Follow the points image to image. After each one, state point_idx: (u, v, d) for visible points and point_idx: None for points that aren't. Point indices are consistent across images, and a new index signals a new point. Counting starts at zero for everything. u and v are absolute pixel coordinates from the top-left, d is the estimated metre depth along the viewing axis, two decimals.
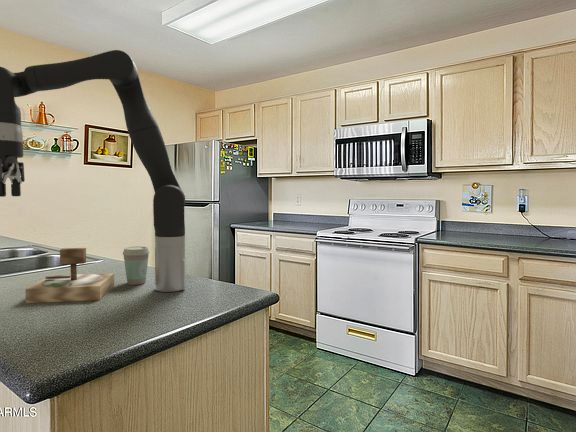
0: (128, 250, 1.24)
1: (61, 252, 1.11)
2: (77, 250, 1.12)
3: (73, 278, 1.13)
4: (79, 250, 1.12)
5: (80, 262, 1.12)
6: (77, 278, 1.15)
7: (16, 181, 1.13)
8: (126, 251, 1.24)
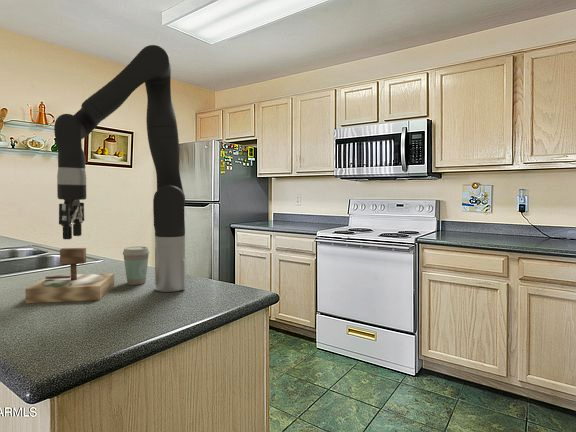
0: (128, 250, 1.24)
1: (61, 252, 1.11)
2: (77, 250, 1.12)
3: (73, 278, 1.13)
4: (79, 250, 1.12)
5: (80, 262, 1.12)
6: (77, 278, 1.15)
7: (78, 221, 1.16)
8: (126, 251, 1.24)
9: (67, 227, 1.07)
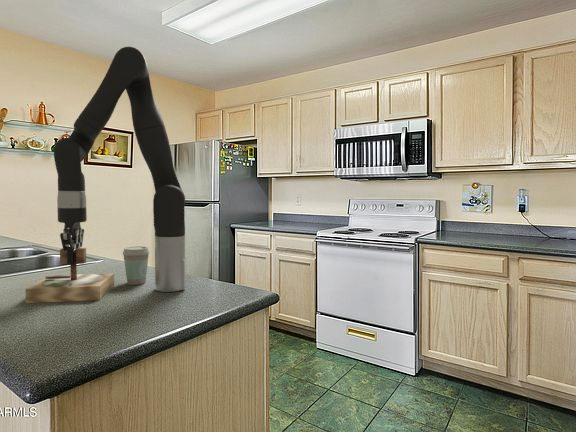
0: (128, 250, 1.24)
1: (61, 252, 1.11)
2: (77, 250, 1.12)
3: (73, 278, 1.13)
4: (79, 250, 1.12)
5: (80, 262, 1.12)
6: (77, 278, 1.15)
7: (75, 247, 1.14)
8: (126, 251, 1.24)
9: (71, 253, 1.10)
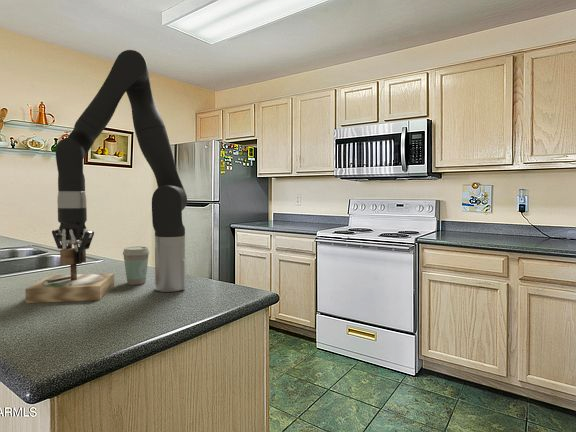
0: (128, 250, 1.24)
1: (66, 253, 1.10)
2: None
3: (75, 278, 1.13)
4: None
5: (83, 261, 1.15)
6: (77, 278, 1.15)
7: (69, 247, 1.14)
8: (126, 251, 1.24)
9: (82, 252, 1.13)
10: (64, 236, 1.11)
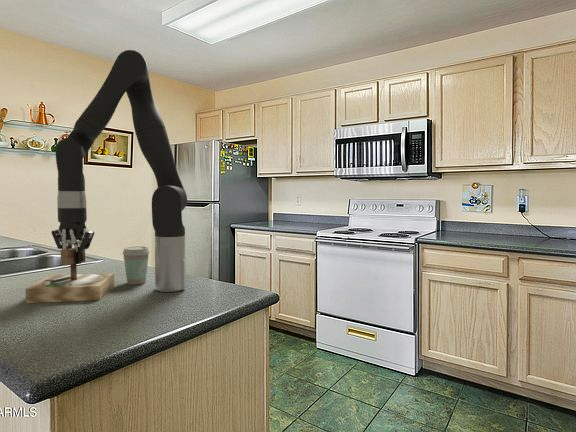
0: (128, 250, 1.24)
1: (68, 253, 1.10)
2: None
3: (76, 278, 1.13)
4: None
5: None
6: (77, 278, 1.15)
7: (69, 247, 1.13)
8: (126, 251, 1.24)
9: (82, 252, 1.13)
10: (64, 236, 1.11)
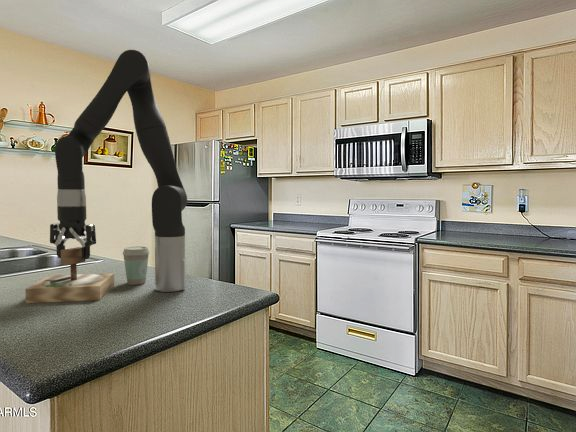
0: (128, 250, 1.24)
1: (68, 253, 1.10)
2: (80, 249, 1.14)
3: (76, 278, 1.13)
4: None
5: (82, 260, 1.15)
6: (77, 278, 1.15)
7: (62, 243, 1.14)
8: (126, 251, 1.24)
9: (89, 247, 1.12)
10: (62, 234, 1.11)
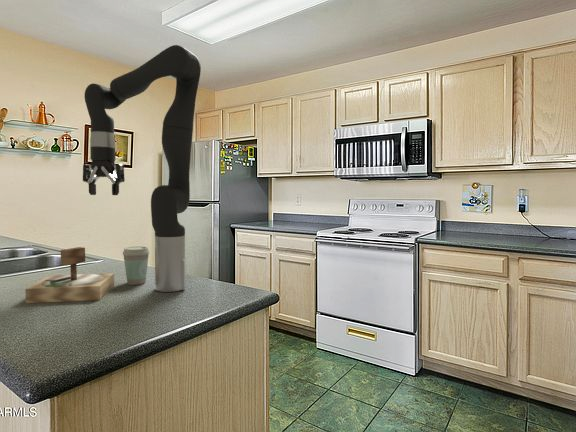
0: (128, 250, 1.24)
1: (68, 253, 1.10)
2: (80, 249, 1.14)
3: (76, 278, 1.13)
4: (82, 249, 1.14)
5: (82, 260, 1.15)
6: (77, 278, 1.15)
7: (93, 181, 1.27)
8: (126, 251, 1.24)
9: (118, 184, 1.26)
10: (94, 172, 1.25)
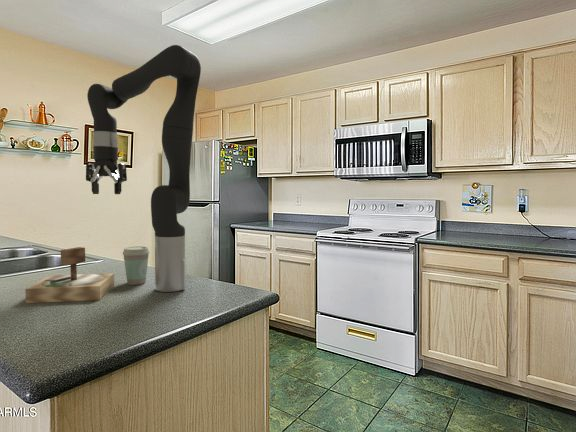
0: (128, 250, 1.24)
1: (68, 253, 1.10)
2: (80, 249, 1.14)
3: (76, 278, 1.13)
4: (82, 249, 1.14)
5: (82, 260, 1.15)
6: (77, 278, 1.15)
7: (96, 181, 1.29)
8: (126, 251, 1.24)
9: (120, 183, 1.27)
10: (97, 171, 1.26)
